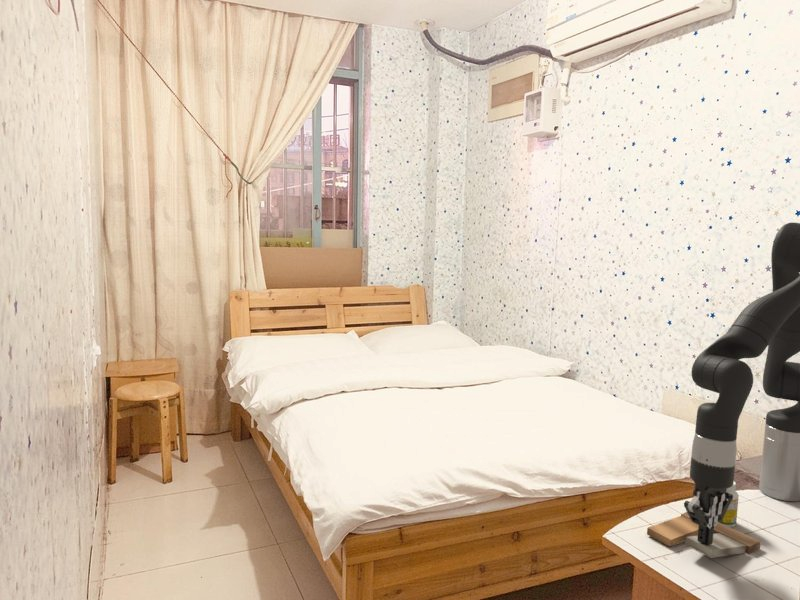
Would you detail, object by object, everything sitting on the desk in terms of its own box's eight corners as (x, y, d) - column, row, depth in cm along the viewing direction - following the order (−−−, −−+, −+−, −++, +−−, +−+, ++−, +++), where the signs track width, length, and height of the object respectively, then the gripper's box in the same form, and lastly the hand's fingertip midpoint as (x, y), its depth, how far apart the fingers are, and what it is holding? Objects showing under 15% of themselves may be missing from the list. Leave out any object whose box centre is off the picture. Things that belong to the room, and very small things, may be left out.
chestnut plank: (681, 521, 129) (682, 515, 129) (705, 533, 124) (706, 526, 124) (646, 534, 123) (647, 527, 123) (670, 546, 118) (670, 539, 118)
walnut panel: (691, 516, 132) (692, 510, 131) (759, 548, 119) (760, 541, 119) (680, 520, 130) (681, 514, 129) (748, 553, 117) (749, 546, 117)
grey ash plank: (718, 540, 122) (719, 533, 122) (744, 552, 117) (746, 545, 117) (684, 544, 115) (686, 536, 115) (711, 557, 111) (712, 550, 111)
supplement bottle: (740, 529, 126) (744, 487, 125) (713, 527, 127) (717, 485, 126) (729, 517, 132) (733, 477, 131) (704, 515, 132) (708, 475, 131)
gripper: (711, 471, 105) (703, 561, 107) (752, 459, 112) (742, 544, 114) (674, 456, 112) (666, 542, 114) (714, 446, 118) (706, 527, 120)
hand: (704, 543), depth 114 cm, fingers closed
